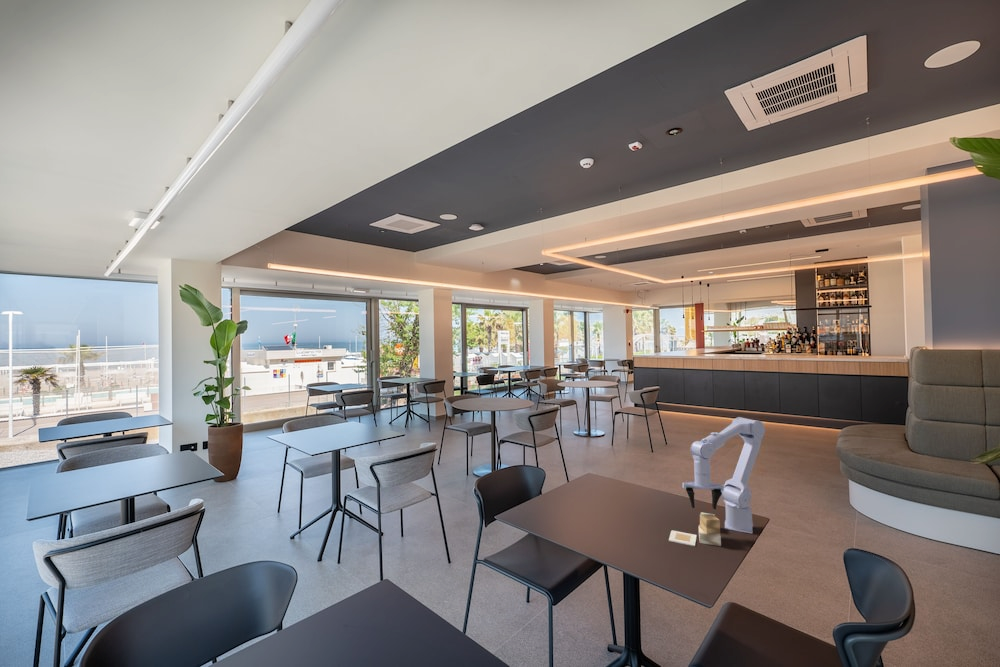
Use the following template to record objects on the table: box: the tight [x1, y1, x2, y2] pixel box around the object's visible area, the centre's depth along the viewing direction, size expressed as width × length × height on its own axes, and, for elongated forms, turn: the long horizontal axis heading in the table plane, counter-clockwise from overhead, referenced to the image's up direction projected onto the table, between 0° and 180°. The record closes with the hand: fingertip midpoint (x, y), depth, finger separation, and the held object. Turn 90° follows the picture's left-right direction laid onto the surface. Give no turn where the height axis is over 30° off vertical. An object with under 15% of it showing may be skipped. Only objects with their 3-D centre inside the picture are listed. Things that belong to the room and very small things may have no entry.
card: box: [668, 530, 697, 547], centre depth 156 cm, size 9×9×1 cm
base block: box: [698, 524, 722, 547], centre depth 155 cm, size 7×7×4 cm
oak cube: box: [699, 513, 721, 535], centre depth 154 cm, size 5×5×5 cm
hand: (703, 507), depth 160 cm, fingers open, 7 cm apart
